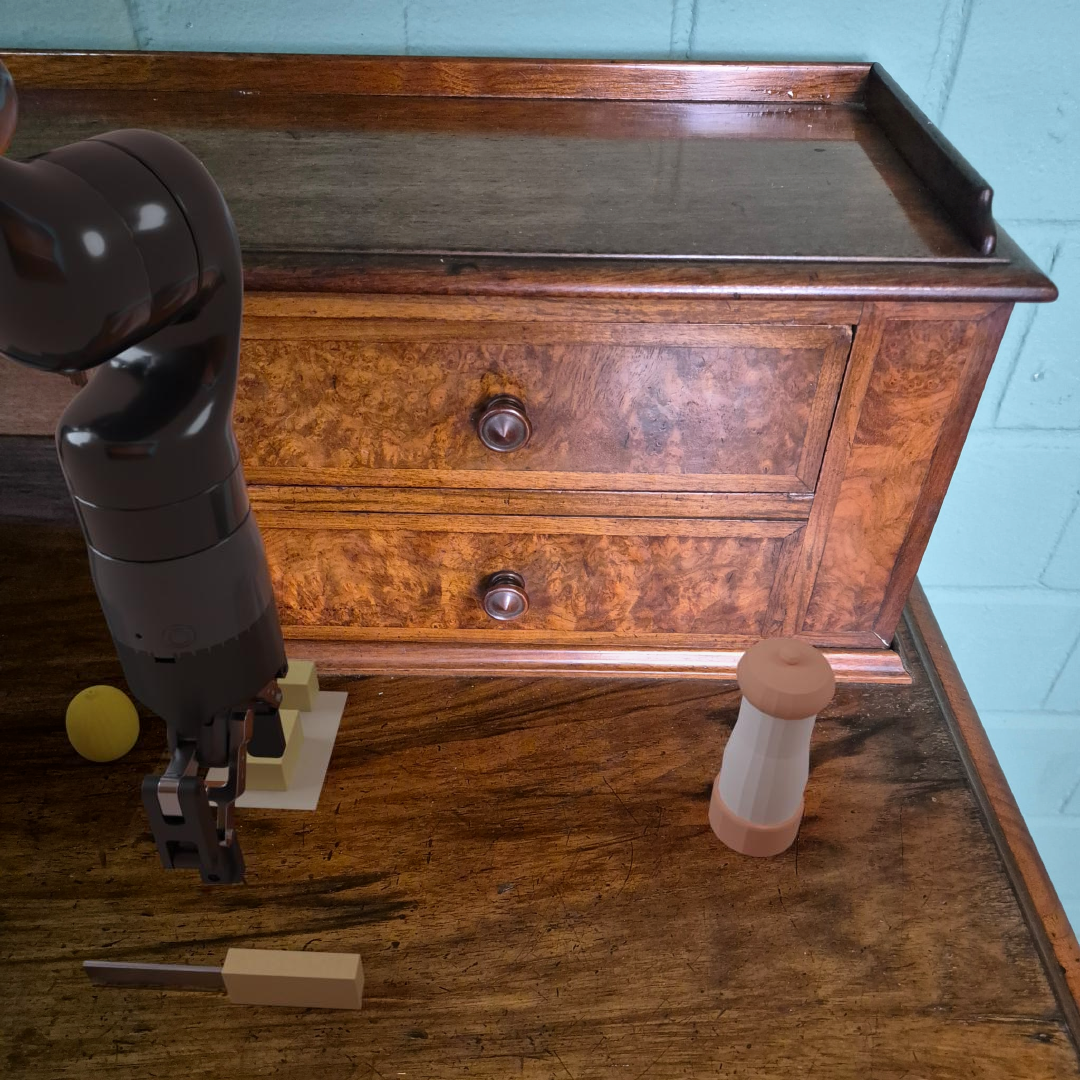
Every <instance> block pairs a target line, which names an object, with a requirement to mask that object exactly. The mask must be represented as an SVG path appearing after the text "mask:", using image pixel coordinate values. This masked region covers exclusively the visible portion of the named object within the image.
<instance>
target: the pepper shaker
mask: <svg viewBox="0 0 1080 1080" xmlns="http://www.w3.org/2000/svg"><path fill="white" fill-rule="evenodd" d="M735 676H736V680H737V683H738V687H739V690H740V692H741V694H742V698H741V702H740V708H739V713H738V716H737V717H738V718H737V721H736V723H735V725H734V727H733V728H732V729H733V730H732V732H731V734H730V736H729V738H728V741H727V743H726V745H725V747H724V749H723V755H722V761H721V762H722V763H721V769H720V770H719V772H717V774H716V776H715V778H714V781H713V786H712V791H711V796H710V803H709V808H708V813H707V815H708V819H709V825H710V827H711V829H712V831H713V832H714V834H715V836H716V837H717V838H718V839H719V840H720V842H722V843H723V844H724V845H725V846H727V848H729V849H731V850H733V851H735V852H737V853H739V854H741V855H745V856H749V857H754V858H769V857H773V856H777V855H779V854H781V853H784V852H785V851H786V850H788V849H789V848H790V847H791V846H792V844H793V843H794V841H795V840H796V837H797V835H798V831H799V827H800V824H801V821H802V818H803V813H804V810H805V796H804V793H805V789H806V786H807V783H808V780H809V770H810V768H809V767H810V742H811V740H812V739H811V738H812V735H813V730H814V727H815V722H816V719H817V714H818V713H820V712H821V711H823V710H824V709H826V707H827V706H829V704H830V703H831V702H832V699H833V698H834V696H835V694H836V676H835V673H834V670H833V668H832V665H831V664H830V662H829V660H828V659H827V658H826V657H825V656H824V654H823V653H822V652H821V651H820V650H819V649H818V648H816V647H815V646H813V645H811V644H810V643H807V642H806V641H803V640H800V639H796V638H792V637H787V636H772V637H768V638H766V639H762V640H759V641H758V642H757V643H755V644H753V645H752V646H750V647H748V648H747V649H746V651H745V652H744V653H743V655H742V656H741V657H740V659H739V661H738V663H737V665H736V672H735Z"/></svg>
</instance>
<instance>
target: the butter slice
mask: <svg viewBox="0 0 1080 1080" xmlns="http://www.w3.org/2000/svg"><path fill="white" fill-rule="evenodd" d="M287 662H288V666H289V669H288V672H287V675H286V677H285V679H281V678H278V679H277V683H278V687H279V688H281V691H282V696H283V698H282V702H281V704H280V707H279V709H284V710H299V711H312V710H313V707H314V703H315V700H316V697H317V694H318V691H320V684H319V680H318V673H317V667H316V662H315V661H313V660H311V661H310V660H288V659H287Z"/></svg>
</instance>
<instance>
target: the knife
mask: <svg viewBox="0 0 1080 1080" xmlns="http://www.w3.org/2000/svg"><path fill="white" fill-rule="evenodd" d="M82 968H83V970H84V973H86V976H87V978H88V980H89V981H90V982H91V983H108V984H129V986H127V985H126V986H125V985H106V984H105V985H104V984H92V987H93V988H102V989H103V988H105V989H106V988H107V989H127V990H145V991H146V990H147V991H167V992H168V991H169V992H170V991H171V992H190V993H191V992H192V993H209V994H210V993H213V994H228V997H229V999H230V1002H231V1004H236V1005H252V1006H253V1005H256V1006H275V1007H276V1006H277V1007H296V1008H298V1007H299V1008H316V1009H317V1008H319V1009H341V1010H359V1011H360V1010H362V1006H363V1001H364V996H363V991H364V985H365V979H366V978H365V973H364V968H363V962H362V957H361V954H360V953H345V952H344V953H343V952H325V951H323V952H321V951H319V952H318V951H303V950H280V949H261V948H260V949H259V948H258V949H257V948H234V947H230V948H228V951H227V954H226V957H225V960H224V962H223V966H211V965H210V966H209V965H188V964H187V965H185V964H167V963H165V964H164V963H147V962H146V963H144V962H140V963H139V962H123V961H99V960H84V961H83V964H82ZM130 984H132V985H152V986H172V987H175V986H176V987H193V988H194V987H195V988H214V989H191V988H172V987H171V988H170V987H150V986H149V987H147V986H130ZM215 988H216V989H217V988H218V989H226V990H215Z"/></svg>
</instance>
